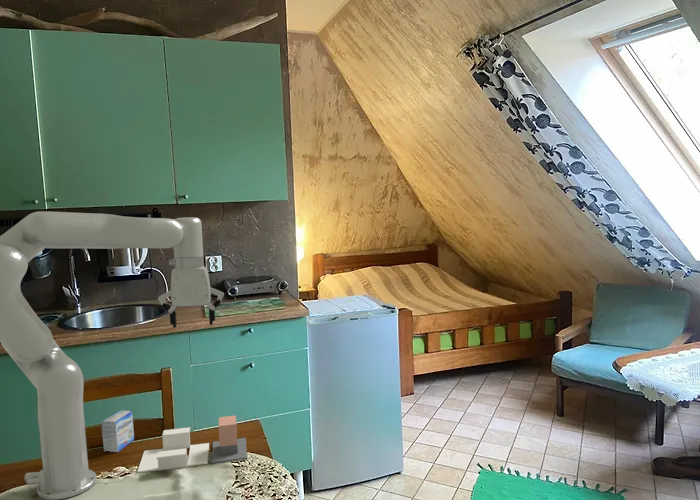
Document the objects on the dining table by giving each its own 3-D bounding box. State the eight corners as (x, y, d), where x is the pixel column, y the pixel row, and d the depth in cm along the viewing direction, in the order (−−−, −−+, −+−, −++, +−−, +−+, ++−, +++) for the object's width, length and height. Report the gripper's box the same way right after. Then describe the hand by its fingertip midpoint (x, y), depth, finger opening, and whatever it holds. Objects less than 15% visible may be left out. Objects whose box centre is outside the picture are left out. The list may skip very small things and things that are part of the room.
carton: (135, 477, 135) (134, 460, 135) (145, 448, 151) (144, 432, 151) (207, 468, 139) (206, 451, 138) (209, 440, 155) (208, 425, 154)
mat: (211, 463, 141) (211, 462, 141) (212, 443, 153) (212, 441, 153) (247, 459, 143) (247, 457, 143) (245, 439, 155) (245, 437, 154)
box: (220, 455, 144) (218, 426, 144) (220, 445, 150) (218, 417, 149) (237, 453, 145) (236, 424, 144) (237, 443, 151) (235, 415, 150)
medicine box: (117, 453, 149) (115, 422, 148) (103, 451, 150) (100, 421, 149) (134, 440, 157) (132, 410, 156) (120, 439, 157) (118, 409, 157)
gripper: (153, 266, 143) (158, 331, 145) (222, 262, 147) (225, 325, 149) (157, 263, 151) (161, 324, 152) (222, 259, 154) (225, 319, 156)
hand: (193, 325), depth 151 cm, fingers open, 9 cm apart
